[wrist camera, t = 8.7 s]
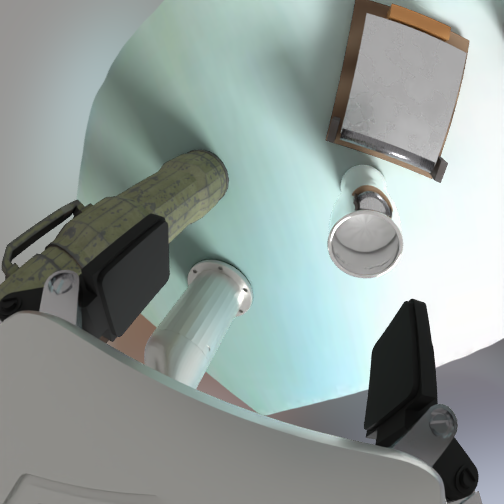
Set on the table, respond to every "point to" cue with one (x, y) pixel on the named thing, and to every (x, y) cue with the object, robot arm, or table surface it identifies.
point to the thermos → (118, 219)
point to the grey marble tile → (402, 92)
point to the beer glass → (364, 225)
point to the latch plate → (350, 62)
